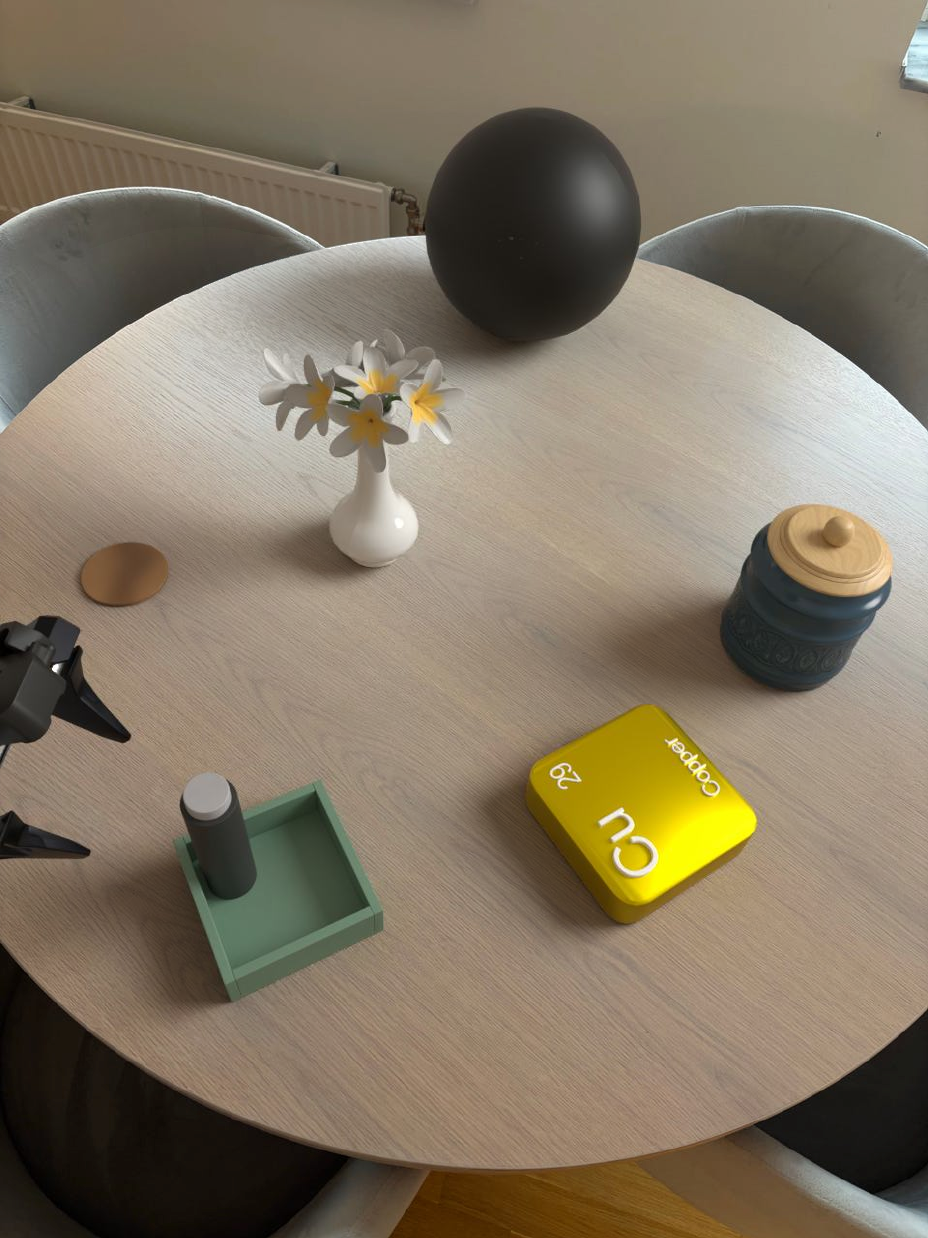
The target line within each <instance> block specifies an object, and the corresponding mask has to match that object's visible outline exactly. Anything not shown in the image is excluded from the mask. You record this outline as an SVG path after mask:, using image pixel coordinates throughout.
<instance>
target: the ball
mask: <svg viewBox="0 0 928 1238" xmlns="http://www.w3.org/2000/svg"><path fill="white" fill-rule="evenodd" d="M641 212H642V211H641V200H640V195H639V191H638V188H637V186H636V183H635V179H634V176H633V174H632V171H631V168H630V166H629V164H628V163H627V162H626V160H625V158H624V156H623V155H622V153H621V151H620V150H619V149H618V148H617V146H616V145H615V144H614V143H613V141H612V140H610V139H609V138H608V136H607V135H605V134H604V133H603V132H602V131H601V129H599V128H598V127H597V126H596V125H593V124H592V123H590V122H588V121H586V120H585V119H583V118H581V117H579V116H577V115H576V114H573V113H570V112H567V111H565V110H561V109H557V108H552V107H551V108H550V107H544V106H543V107H540V106H532V107H523V108H518V109H513V110H508V111H505V112H502V113H498V114H496V115H494V116H492V117H490V118H488V119H487V120H485V121H483V122H482V123H480V124H478V125H477V126H475V127H473V128H472V129H471V130H469V131H468V132H466V134H465V135H464V136H463V137H462V138H461V139H460V140H459V141H457V143H456V144H455V145H454V146H453V147H452V148H451V150H450V151H449V153H448V154H447V155H446V157H445V159H444V160H443V162H442V164H441V165H440V167H439V168H438V170H437V172H436V174H435V177H434V180H433V183H432V186H431V188H430V191H429V195H428V198H427V201H426V208H425V217H424V232H425V246H426V253H427V257H428V261H429V264H430V267H431V271H432V273H433V276H434V278H435V280H436V282H437V284H438V286H439V287H440V289H441V291H442V293H443V295H444V297H445V298H446V299H447V300H448V302H450V304H451V305H452V306H453V307H454V308H455V309H456V310H457V311H458V313H460V314H461V315H462V317H464V318H465V319H466V320H467V321H469V322H470V323H471V324H473V325H475V326H476V327H478V328H480V329H481V330H483V331H485V332H488V333H489V334H492V335H494V336H497V337H499V338H502V339H507V340H510V341H515V342H516V341H517V342H541V341H547V340H552V339H556V338H559V337H564V336H567V335H570V334H571V333H574V332H576V331H579V329H581V328H583V327H584V326H586V325H587V324H589V323H590V322H592V321H594V320H595V319H596V318H598V317H599V316H600V315H601V314H602V313H603V312H604V311H605V310H606V309H607V308H608V307H609V305H611V303H612V302H613V301H614V300H615V299H616V297H617V296H619V294H620V292H621V291H622V289H623V287H624V285H625V284H626V282H627V281H628V279H629V276H630V275H631V271H632V269H633V266H634V264H635V260H636V258H637V255H638V252H639V249H640V241H641V240H640V239H641V231H642V213H641Z"/></svg>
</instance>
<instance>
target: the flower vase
mask: <svg viewBox="0 0 928 1238" xmlns="http://www.w3.org/2000/svg"><path fill="white" fill-rule="evenodd" d="M382 335H383V339H384V342H385V345H386V348H387V349H386V348H385V347H384V346H381V345H378V344H377V343H378V339H375V340H373V342H371V343H370V344H369V345H368V346H367V347H366V348H365V349H364V343H363V341H362V340H358V341H357V342H355V343H354V344H353V345H352V346H351V348H350V350H349V351H348V353H347V355H346V358H345V364H339V365H336V366H334V367H331V368H328V369H326V370H324V371H322V372H321V373H320V371H319V368H318V367H317V364H316V362H315V360H314V358H313V356H312V355H311V354H310V353H307V354H305V356H304V358H303V366H302V367H303V374H304V378H305V381H306V382H307V383H301V381H300V380H299V379H298V377H297V375H296V372H295V370H294V368H293V365H292V362H291V358H290V355H289V354H288V352H284V353H283V355H282V359H281V360H279V358H278V357H277V356H276V355H275V353H274V352H273V351H272V350H271V349H270V348H269V347H265V348H264V349H263V353H262V354H263V359H264V363H265V366H266V368H267V370H268V371H269V373H270V375H271V376H272V377H274V378H275V379H277V380H270V381H268V382H266V383H265V384H263V385H262V386H261V387H260V389H259V390H258V391H259V392H258V396H257V397H258V401H259V402H260V404H262V405H263V406H268V407H269V406H273V405H276V404H279V403H280V404H279V405H278V407H277V409H276V413H275V426H276V430H277V432H281V431H282V430H283V428H284V426H285V425H286V422H287V419H288V417H289V415H290V413H291V411H292V410H294V409H296V407H297V408H300V409H306V410H305V411H303V412H302V413H301V414H300V416H299V417H298V419H297V422H296V423H295V429H294V439H296V441H298V442H299V441H302V440H303V439H304V438H305V437H307V435H308V434H309V433H310V431H311V430H312V429H313V427H314V426H315V425H316V429H317V433H318V434H319V436H321V437H326V436H327V435H328V433H329V426H330V420H331V421H332V422H333V423H334V424H336V425H338V426H341V427H344V428H345V429H343V431H342V432H340V433H339V434H338V435H336V437H335V438H334V439H333V440H332V441H331V443H330V445H329V449H328V451H329V454H330V455H331V456H332V457H334V458H345V457H347V456H351V455H352V454H353V453H355V452H356V451H357V465H356V467H357V469H356V481H355V485H354V487H353V490H351V491H349V492H348V493H347V494H346V495H344V496H343V497H341V498H340V500H339V501H337V504H336V505H334V508H333V509H332V513H331V516H330V519H329V534H330V537H331V539H332V542H333V543H334V545H335V546H336V547H337V549H339V551H340V552H341V553H343V554H344V555H345V556H347V557H349V558H350V559H351V560H352V561H353V562H355V563H356V564H358V565H359V566H363V567H365V568H372V569H375V568H383V567H386V566H389V565H391V564H394V563H395V562H396V561H398V560H399V559H400V557H402V556H404V555H405V554H406V553H407V552H408V551H409V550H411V549H412V547H413V546H414V544H415V542H416V541H417V538H418V535H419V531H420V525H419V517H418V514H417V512H416V510H415V508H414V506H413V504H412V503H411V501H409V500H408V499H407V498H406V497H405V496H404V495H403V494H402V493H400V492H398V491H396V490H395V489H394V487H393V484H392V480H391V474H390V457H389V445H392V446H398V445H404V444H406V443H407V442H409V443H410V444H417V443H418V442H419V441H421V439H423V437H424V436H425V432H426V429H427V428H428V430H430V432H431V433H432V434H433V436H434V437H435V438H436V439H437V440H438V441H439V442H440V443H441V444H443V445H446V446H449V445H450V444H452V443H453V439H454V432H453V428H452V425H451V423H450V421H449V420H448V418H447V417H446V416H445V415H444V414H443V413H441V412H444V413H445V412H450V411H454V410H456V409H457V408H459V407H461V406H462V405H463V404H464V403H465V401H466V400H467V391H466V390H465V389H464V388H462V387H459V386H449V387H444V388H441V389H438V388H440V386H441V384H442V382H446V381H447V377H446V376H445V375H444V374H443V366H442V363H441V360H439V359H436V352H435V351H434V350H433V349H432V347H429V346H416V347H414V348H411V349H410V350H409V351H408V352H407V354H406V351H405V346H404V344H403V342H402V340H401V339H400V337H399V336H398V335H396V334H395V333H394V332H393V331H392V330H390V329H388V328H384V329H383V330H382ZM387 365H388V369H387ZM426 366H427V368H425V367H426ZM403 380H404V381H416V380H418V381H419V380H421V381H422V382H421V383H420V384H419V385H418V384H415V383H413V382H403ZM346 388H354V390H353V391H350V390H348V389H346ZM334 392H338V393H341V394H343V395H346V396H347V397H350V398H351V399H350V400H343V399H335V398H333V395H334ZM395 401H400V402H403V403H404V405H405V406H406V407H408V408H409V409H410V418H409V422H408V425H407V430H405V429H404V428H402V427H400V426H399V425H396V424H394V423H392V422H393V420H394V418H395V417H396V415H397V412H398V409H397V404H396V402H395Z"/></svg>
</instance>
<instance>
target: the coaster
mask: <svg viewBox="0 0 928 1238" xmlns="http://www.w3.org/2000/svg"><path fill="white" fill-rule="evenodd" d="M168 565H169V564H168V563H167V559H166V558H165V556H164V554H163V553H162V552H161V551H160V550H159V549H157V548H156V547H154V546H152V545H150V544H146V543H142V542H138V541H137V542H135V541H128V542H119V543H115V544H112V545H109V546H106V547H104V548H102V549H101V550H98V551H97V552H96V553H94V554H93V555H92V556H91V557H90V558H89V559H88V560H87V561H86V563H85V564H84V566H83V568H82V571H81V576H80V582H81V586H82V589H83V591H84V592H85V593H86V595H87V597H89V598H90V599H91V600H93V601H94V602H96V603H98V604H100V605H103V606H106V607H117V608H118V607H119V608H120V607H130V606H134V605H137V604H141V603H143V602H145V601H148V599H150V598H152V597H154V595H157V593H158V592H159V591H160V590H161V589H162V588H163V586H164V585H165V583H166V581H167V579H168V575H169V568H168V567H169V566H168Z"/></svg>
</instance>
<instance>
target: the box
mask: <svg viewBox="0 0 928 1238" xmlns="http://www.w3.org/2000/svg"><path fill="white" fill-rule="evenodd" d="M242 815H243V819H244V823H245V826H246V830H247V834H248V838H249V842H250V846H251V850H252V854H253V858H254V861H255V865H256V870H257V878H256V881H255V884H254V885H253V887H252V888H251V890H250V891H249V892H248V893H246V894H245V895H243V896H242V897H239V898H236V899H231V900H227V899H221V898H219V897H217V896H215V895H214V894H213V893H212V892H211V891H210V889H209V887H208V885H207V882H206V879H205V877H204V874H203V871H202V868H201V866H200V863H199V860H198V857H197V855H196V852H195V849H194V846H193V844H192V841H191V838H190V835H189V833H186V834H184V835H182V836H180V837H177V838H174V839H173V840H172V843H173V846H174V850H175V851H176V854H177V857H178V859H179V862H180V866H181V869H182V870H183V873H184V876H185V879H186V881H187V884H188V887H189V890H190V893H191V896H192V899H193V901H194V904H195V907H196V909H197V913H198V915H199V918H200V921H201V923H202V926H203V929H204V932H205V935H206V937H207V938H206V939H207V940H208V943H209V946H210V949H211V951H212V954H213V958H214V960H215V962H216V965H217V968H218V971H219V974H220V977H221V979H222V982H223V984H224V987H225V990H226V993H227V994H228V995H227V996H228V997H229V1000H230V1002H232V1003H234V1002H235V1001H237V1000H240V999H242V998H244V997H246V996H248V995H250V994H253V993H254V992H257V991H259V990H261V989H263V988H265V987H267V986H269V985H271V984H273V983H276V982H277V981H280V980H282V979H283V978H286V977H288V976H290V975H292V974H294V973H296V972H298V971H301V970H302V969H305V968H307V967H309V966H312V965H313V964H315V963H317V962H319V961H321V960H324V959H326V958H328V957H329V956H331V955H334V954H336V953H338V952H340V951H342V950H344V949H346V948H348V947H350V946H352V945H353V946H354V944H357V943H359V942H361V941H363V940H365V939H367V938H369V937H372V936H374V935H376V934H378V933H380V932H383V931H384V909H383V906H382V904H381V902H380V900H379V898H378V896H377V894H376V891H375V889H374V887H373V885H372V883H371V882H370V879H369V876H368V875H367V873H366V871H365V869H364V867H363V865H362V862H361V860H360V858H359V856H358V854H357V852H356V850H355V848H354V846H353V844H352V842H351V839H350V837H349V835H348V833H347V831H346V829H345V826H344V825H343V822H342V819H341V818H340V817H339V814H338V813H337V810H336V808H335V806H334V804H333V802H332V799H331V797H330V795H329V794H328V791H327V789H326V787H325V785H324V783H323V781H322V779H318V780H316V781H313V782H312V783H308V784H306V785H304V786H302V787H301V786H300V787H298V788H297V789H294V790H291V791H289V792H287V793H284V794H282V795H280V796H276V797H275V798H272V799H269V800H267V801H264V802H262V803H260V804H258V805H255V806H252V807H250V808H248V809H245V810H243V811H242Z"/></svg>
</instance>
